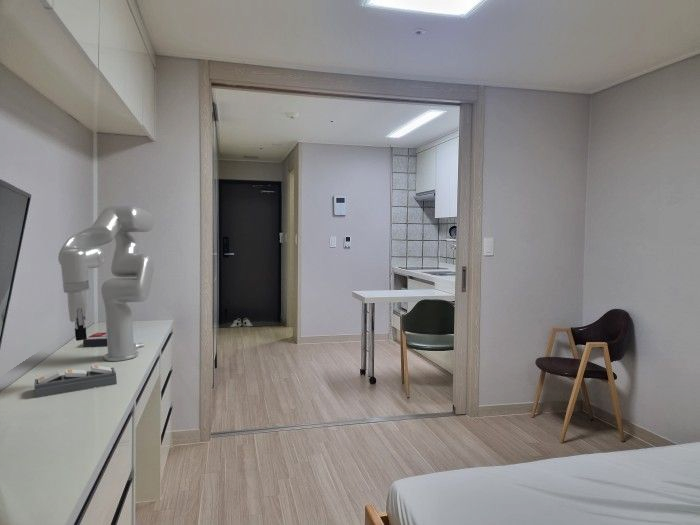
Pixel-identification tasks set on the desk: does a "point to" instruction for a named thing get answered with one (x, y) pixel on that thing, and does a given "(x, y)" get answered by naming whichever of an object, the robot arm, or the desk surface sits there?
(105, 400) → the desk surface
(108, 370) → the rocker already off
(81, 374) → the rocker middle
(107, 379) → the rocker switch panel
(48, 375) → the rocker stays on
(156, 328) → the desk surface
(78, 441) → the desk surface
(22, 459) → the desk surface
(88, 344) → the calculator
